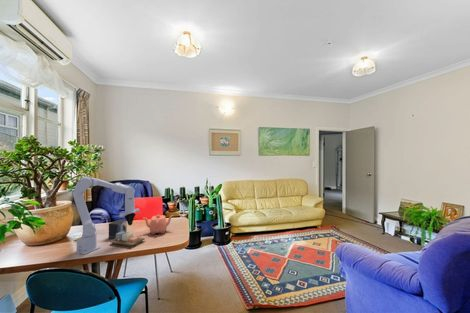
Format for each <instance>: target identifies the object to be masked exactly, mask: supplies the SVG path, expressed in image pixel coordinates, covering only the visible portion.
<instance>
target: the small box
mask: <svg viewBox="0 0 470 313" xmlns="http://www.w3.org/2000/svg"><path fill="white" fill-rule="evenodd" d="M127 225H128V222H127V220H126V219H116V220H114V221H112V222H109V223H108V239H111V240H114V239H116V233H119V232H121V231H122V232H127V229H128V228H127V227H128V226H127Z"/></svg>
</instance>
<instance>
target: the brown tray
mask: <svg viewBox="0 0 470 313" xmlns="http://www.w3.org/2000/svg"><path fill="white" fill-rule="evenodd" d="M133 237H135V236H133ZM138 237H139V241H136V242H134V243H132V242H128V241H124V240H118V239H111V240H109V243H110V244H109V245H110V246H115V247H120V248H125V249H130V250H131V249H133V248H135V247H137V246H139V245H141V244H143V243H145V242H146V241H145V240H146V239H145V238H144V237H140V236H138ZM137 243H138V244H137ZM135 244H136V245H135Z"/></svg>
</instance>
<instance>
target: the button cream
mask: <svg viewBox="0 0 470 313" xmlns="http://www.w3.org/2000/svg"><path fill="white" fill-rule="evenodd" d="M133 235H134V234H133V232H127V233H125V234H123V235H122V240H124V241H128V239H129V238H132V237H133Z"/></svg>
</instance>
